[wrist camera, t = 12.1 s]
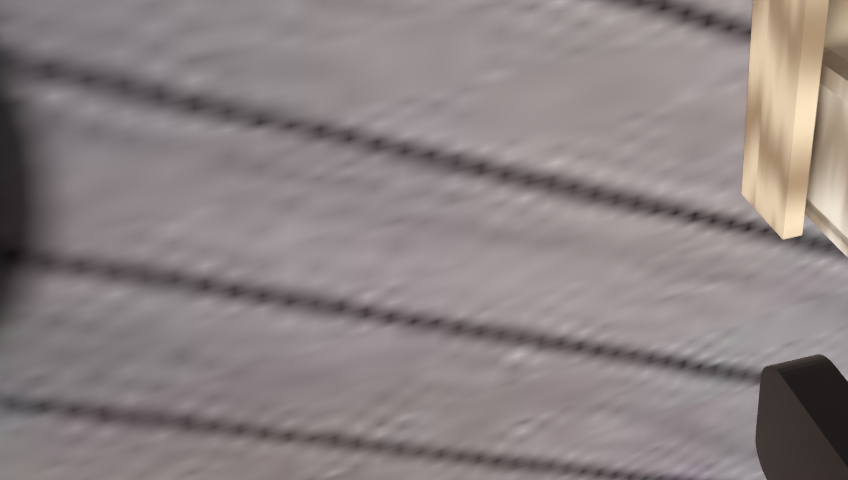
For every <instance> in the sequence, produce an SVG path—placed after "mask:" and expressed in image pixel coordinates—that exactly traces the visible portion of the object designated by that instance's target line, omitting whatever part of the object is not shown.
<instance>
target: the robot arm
mask: <svg viewBox="0 0 848 480" xmlns="http://www.w3.org/2000/svg"><path fill="white" fill-rule="evenodd" d="M756 449H757V454H758V458H759V461H760V464H761V467H762V470H763V472H764V474H765V476H766V479H767V480H848V381H847V380H846V379H845V378H844V376H843V375H842V374H841V373H840V372H839V370H838V369H837V368H836V367H835V365H834V364H833V363H832V362H831V361H830V360H829V359H828V358H826V357H825V356H823V355H820V354H819V355H813V356H809V357H805V358H800V359H796V360H792V361H787V362H783V363H779V364H775V365H770V366H766V367H765V368H764V369H763V371H762V373H761V381H760V393H759V404H758V415H757V426H756Z"/></svg>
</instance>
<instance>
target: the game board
mask: <svg viewBox="0 0 848 480" xmlns="http://www.w3.org/2000/svg"><path fill="white" fill-rule="evenodd" d="M742 195H743V196H744V197H745V198H746V199H747V200H748V201H749V202H750V204H751V205H752V206H753V207H754V208H755V209H756V210H757V211H758V212H759V214H760V215H761V216H762V217H763V218H764V219H765V220H766V221H767V222H768V224H769V225H770V226H771V227H772V228H773V229H774V230H775V231H776V232H777V233H778V235H779V236H780V237H781V238H782V239H787V238H791V237H796V236H800V235H802V231H803V222H804V214H805V215H806V216H807V217H808V218H809V219H810V220H811V221H812V222H813V223H814V224H815V225H816V226H817V227H818V228H819V229H820V230H821V231H822V232H823V233H824V234H825V235H826V236H827V237H828V238H829V239H830V240H831V241H832V242H833V243H834V244H835V245H836V246H837V247H838V248H839V249H840V250H841V251H842V252H843V253H844V254H845V255H846V256H847V257H848V0H753V13H752V30H751V47H750V64H749V80H748V97H747V114H746V131H745V148H744V165H743V182H742Z"/></svg>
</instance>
